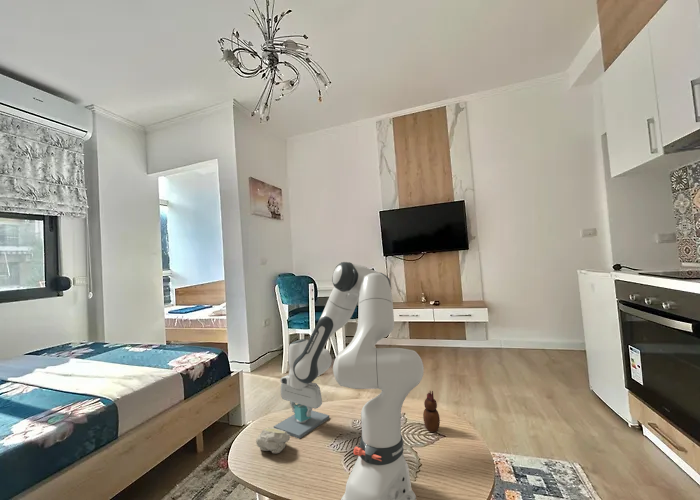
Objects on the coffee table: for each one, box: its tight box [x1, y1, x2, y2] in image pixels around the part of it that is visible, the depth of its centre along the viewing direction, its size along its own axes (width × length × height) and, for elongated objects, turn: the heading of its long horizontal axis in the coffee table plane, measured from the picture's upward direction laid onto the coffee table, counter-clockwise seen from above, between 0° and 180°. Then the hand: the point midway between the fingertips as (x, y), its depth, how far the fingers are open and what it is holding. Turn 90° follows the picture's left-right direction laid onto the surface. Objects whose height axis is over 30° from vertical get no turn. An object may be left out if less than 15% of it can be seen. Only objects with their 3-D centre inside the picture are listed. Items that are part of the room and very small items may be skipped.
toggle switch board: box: [273, 409, 330, 440], centre depth 130 cm, size 18×14×6 cm
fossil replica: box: [255, 427, 291, 455], centre depth 112 cm, size 12×8×10 cm
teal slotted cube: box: [294, 403, 311, 422], centre depth 131 cm, size 5×5×5 cm
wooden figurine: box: [422, 390, 441, 433], centre depth 121 cm, size 7×6×15 cm
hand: (301, 414), depth 130 cm, fingers open, 6 cm apart
